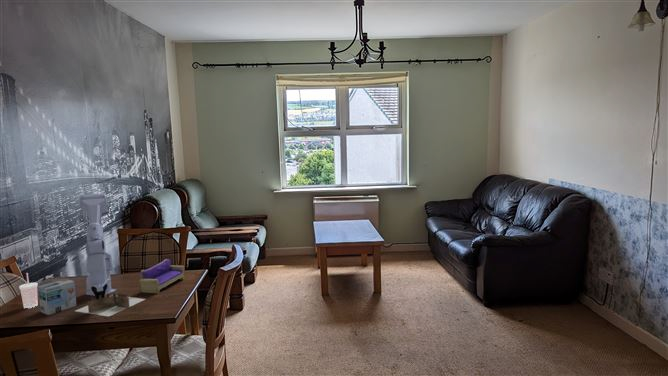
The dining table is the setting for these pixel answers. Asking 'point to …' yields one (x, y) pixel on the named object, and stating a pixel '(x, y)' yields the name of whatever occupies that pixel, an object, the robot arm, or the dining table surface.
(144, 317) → the dining table surface
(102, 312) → the card
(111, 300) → the fence flap
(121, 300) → the fixed fence rail
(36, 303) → the beverage cup
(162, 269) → the toy sofa
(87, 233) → the robot arm
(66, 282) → the light bulb box
